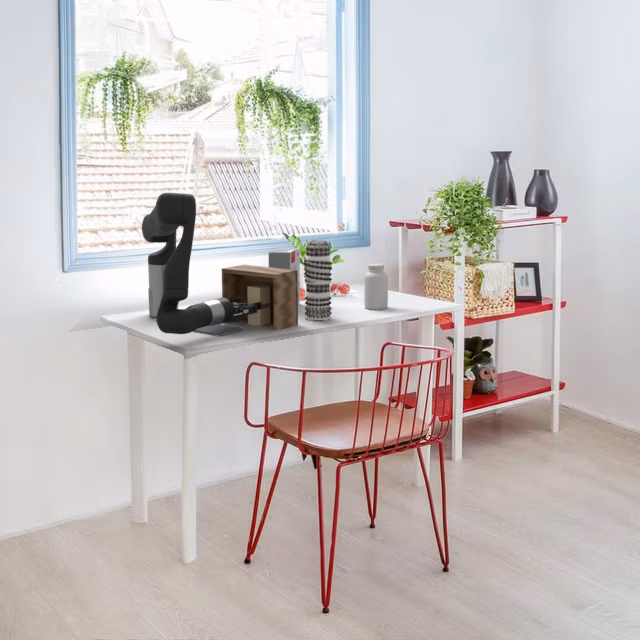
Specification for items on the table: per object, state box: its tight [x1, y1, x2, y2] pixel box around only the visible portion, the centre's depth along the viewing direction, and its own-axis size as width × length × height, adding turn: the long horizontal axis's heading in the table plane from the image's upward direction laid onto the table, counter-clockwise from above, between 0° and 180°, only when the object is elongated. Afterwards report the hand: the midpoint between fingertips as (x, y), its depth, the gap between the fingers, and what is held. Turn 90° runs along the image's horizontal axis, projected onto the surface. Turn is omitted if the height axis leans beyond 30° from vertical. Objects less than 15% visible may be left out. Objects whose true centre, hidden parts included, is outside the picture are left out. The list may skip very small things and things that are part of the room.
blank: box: [247, 284, 272, 327], centre depth 299 cm, size 5×5×12 cm
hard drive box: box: [268, 247, 301, 305], centre depth 326 cm, size 16×8×20 cm, turn 168°
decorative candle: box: [303, 239, 333, 322], centre depth 306 cm, size 9×9×25 cm
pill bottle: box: [364, 262, 389, 311], centre depth 324 cm, size 8×8×15 cm
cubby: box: [221, 264, 299, 331], centre depth 299 cm, size 11×22×17 cm, turn 54°
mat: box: [193, 323, 244, 337], centre depth 291 cm, size 11×11×1 cm
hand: (249, 303), depth 296 cm, fingers open, 8 cm apart
